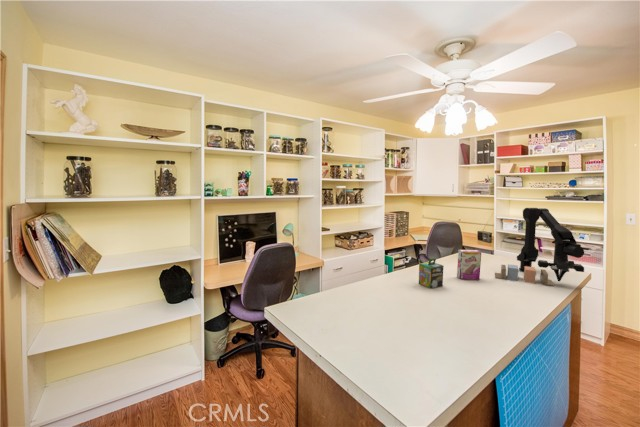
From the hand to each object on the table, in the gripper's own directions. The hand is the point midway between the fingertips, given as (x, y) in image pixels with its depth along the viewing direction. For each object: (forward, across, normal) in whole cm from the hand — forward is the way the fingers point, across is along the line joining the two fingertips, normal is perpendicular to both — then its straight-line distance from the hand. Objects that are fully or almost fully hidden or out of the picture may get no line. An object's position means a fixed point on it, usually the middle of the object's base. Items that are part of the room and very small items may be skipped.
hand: (558, 281), depth 157 cm
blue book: (+2, -21, 0) cm, 21 cm away
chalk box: (+2, -60, -35) cm, 69 cm away
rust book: (+2, -13, 0) cm, 13 cm away
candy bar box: (+2, -43, -13) cm, 45 cm away
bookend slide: (+2, -5, 0) cm, 5 cm away
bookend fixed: (+2, -27, 0) cm, 27 cm away
